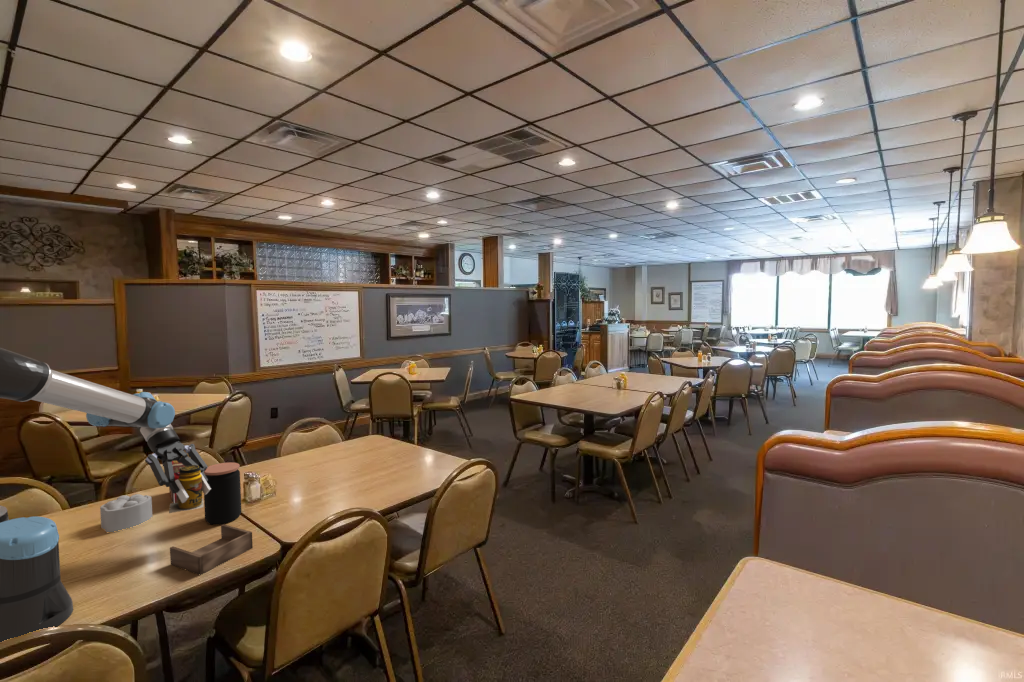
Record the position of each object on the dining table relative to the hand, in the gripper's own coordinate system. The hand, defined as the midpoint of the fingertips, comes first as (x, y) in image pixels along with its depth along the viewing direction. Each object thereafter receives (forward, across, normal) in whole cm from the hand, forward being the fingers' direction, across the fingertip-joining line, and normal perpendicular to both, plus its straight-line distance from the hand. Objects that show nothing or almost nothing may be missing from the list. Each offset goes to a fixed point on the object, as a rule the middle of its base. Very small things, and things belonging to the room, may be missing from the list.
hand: (196, 495), depth 140 cm
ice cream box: (-17, -22, -41) cm, 50 cm away
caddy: (+18, +2, -4) cm, 18 cm away
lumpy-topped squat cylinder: (-14, -2, -38) cm, 41 cm away
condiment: (0, +1, -5) cm, 5 cm away
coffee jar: (+4, -16, -19) cm, 25 cm away
